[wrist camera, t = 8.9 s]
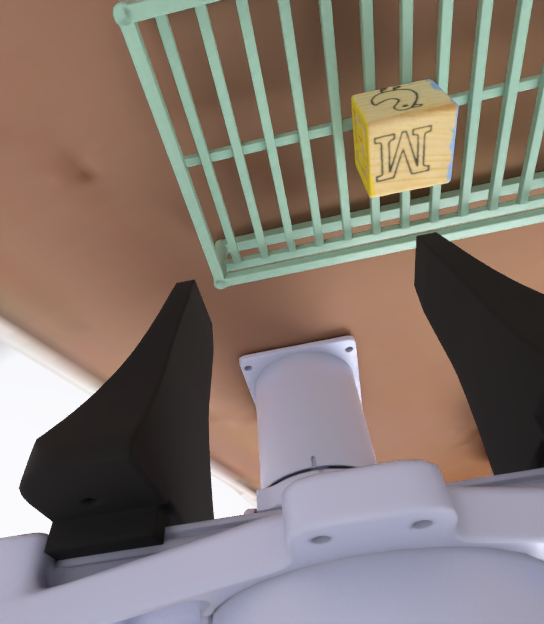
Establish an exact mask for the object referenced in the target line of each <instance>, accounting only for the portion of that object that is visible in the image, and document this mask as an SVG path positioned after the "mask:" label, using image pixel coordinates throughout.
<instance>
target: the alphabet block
mask: <svg viewBox="0 0 544 624" xmlns="http://www.w3.org/2000/svg"><path fill="white" fill-rule="evenodd" d="M458 108H459V106H458V104H457V103H456V102H455V101H454V100H453V99H452V98H451V97H450V96H448V95H447V94H446V93H445V92H444V91H443V90H442V89H441V88H440V87H439V86H438V85H437V84H436V83H435V82H434V81H433V80H431V79H426V80H421V81H416V82H411V83H407V84H402V85H398V86H393V87H387V88H384V89H379V90H375V91H370V92H365V93H361V94H356V95H353V96H352V97H351V109H352V123H353V138H354V152H355V165H356V168H357V170H358V172H359V175H360V177H361V179H362V182H363V184H364V186H365V189H366V191H367V193H368V196H369V197H370V198H375V197H380V196H385V195H389V194H394V193H399V192H404V191H409V190H414V189H419V188H425V187H430V186H435V185H440V184H446V183H448V182H450V179H451V173H452V164H453V155H454V146H455V144H454V143H455V136H456V124H457V116H458Z"/></svg>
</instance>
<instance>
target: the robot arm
mask: <svg viewBox="0 0 544 624" xmlns="http://www.w3.org/2000/svg"><path fill="white" fill-rule="evenodd" d="M414 286H415V289H416V292H417V295H418V297H419V300H420V303H421V305H422V308H423V311H424V313H425V315H426V317H427V319H428V320H429V322H430V324H431V326H432V328H433V330H434V332H435V334H436V335H437V337H438V339H439V341H440V343H441V345H442V346H443V348H444V350H445V352H446V354H447V356H448V358H449V359H450V361H451V363H452V365H453V367H454V369H455V371H456V373H457V375H458V378H459V380H460V383H461V385H462V388H463V390H464V393H465V395H466V398H467V400H468V403H469V406H470V408H471V411H472V414H473V416H474V419H475V422H476V424H477V427H478V430H479V433H480V436H481V439H482V441H483V444H484V447H485V450H486V453H487V456H488V459H489V462H490V465H491V468H492V471H493V474H494V476H488V477H481V478H475V479H469V480H462V481H456V482H449V483H445V482H444V479H443V476H442V474H441V472H440V469H439V467H438V466H437V465H435V464H432V463H430V462H427V461H424V460H421V459H413V460H398V461H392V462H386V463H379V464H377V461H376V457H375V453H374V450H373V446H372V442H371V439H370V435H369V431H368V427H367V424H366V420H365V416H364V413H363V409H362V399H361V389H360V380H359V370H358V360H357V350H356V342H355V339H354V337H353V336H342V337H337V338H332V339H327V340H322V341H316V342H311V343H306V344H301V345H295V346H290V347H285V348H280V349H274V350H269V351H264V352H259V353H254V354H248V355H244V356H242V357H240V359H239V364H240V367H241V370H242V372H243V375H244V377H245V380H246V383H247V385H248V388H249V390H250V393H251V396H252V398H253V401H254V403H255V406H256V409H257V426H258V444H259V461H260V478H261V489H258V490H257V491H256V492H257V509H247V510H246V511H245V513H244V515H239V516H234V517H226V518H221V519H214V514H213V502H212V488H211V472H210V451H209V400H210V388H211V377H212V364H213V330H212V322H211V320H210V317H209V315H208V312H207V310H206V307H205V304H204V302H203V299H202V297H201V294H200V292H199V289H198V287H197V284H196V282H195V280H190V281H185V282H180V283H176V285H175V286H174V288H173V290H172V291H171V293H170V295H169V297H168V298H167V300H166V302H165V304H164V305H163V307H162V309H161V310H160V312H159V314H158V315H157V317H156V319H155V320H154V322H153V323H152V325H151V327H150V328H149V330H148V331H147V333H146V334H145V335H144V337H143V338H142V340H141V341H140V343H139V344H138V345H137V347H136V348H135V350H134V351H133V352H132V353H131V355H130V356H129V357H128V358H127V360H126V361H125V362H124V363H123V364H122V365H121V367H120V368H119V369H118V370H117V371H116V372H115V373H114V374H113V375H112V376H111V377H110V378H109V379H108V380H107V381H106V382H105V383H104V384H103V385H102V387H101V388H100V389H99V390H98V391H97V392H96V393H94V394H93V395H92V396H91V397H90V398H89V399H88V400H87V401H86V402H84V403H83V404H82V405H81V406H80V407H79V408H77V409H76V410H75V411H74V412H73V413H71V414H70V415H69V416H68V417H66V418H65V419H64V420H63V421H61V422H60V423H58V424H57V425H56V426H54V427H53V428H52V429H50V430H49V431H48V432H46V433H45V434H44V435H42V436H41V437H39V438H38V439H37V440H36V442H35V444H34V447H33V449H32V452H31V454H30V457H29V460H28V463H27V466H26V468H25V471H24V474H23V477H22V480H21V483H20V487H19V489H20V492H21V495H22V496H23V498H24V499H26V501H27V502H28V503H29V504H31V505H32V506H33V507H35V508H36V509H37V510H38V511H40V512H41V513H42V514H43V515H45V516H46V517H47V518H49V519H50V520H51V521H52V522H53V523H52V526H51V530H50V533H49V535H48V534H44V533H31V534H24V535H17V536H12V537H5V538H0V624H544V294H542V293H540V292H537V291H535V290H533V289H531V288H529V287H526V286H524V285H522V284H520V283H518V282H516V281H514V280H512V279H510V278H508V277H506V276H505V275H503V274H501V273H499V272H497V271H496V270H494V269H492V268H490V267H489V266H487V265H485V264H484V263H482V262H481V261H479V260H477V259H476V258H474V257H473V256H471V255H470V254H468V253H467V252H465V251H464V250H462V249H461V248H459V247H458V246H456V245H455V244H453V243H452V242H450V241H449V240H447V239H446V238H444V237H443V236H441V235H440V234H438V233H437V232H433V233H428V234H423V235H418V236H416V257H415V281H414ZM347 347H349V348H347Z"/></svg>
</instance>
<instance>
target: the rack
mask: <svg viewBox="0 0 544 624" xmlns="http://www.w3.org/2000/svg"><path fill="white" fill-rule="evenodd" d="M216 1H220V0H120V1H119V2H118V3H117V4H116V5H115V6H114V8H113V18H114V20H115V22H116V23H117V24H118V25H119V26H120V28H121V31H122V34H123V36H124V39H125V42H126V44H127V47H128V50H129V53H130V55H131V58H132V61H133V63H134V66H135V69H136V71H137V74H138V77H139V79H140V82H141V85H142V87H143V90H144V93H145V96H146V98H147V101H148V104H149V106H150V109H151V112H152V114H153V117H154V120H155V122H156V125H157V128H158V130H159V133H160V136H161V139H162V141H163V144H164V147H165V149H166V152H167V155H168V157H169V160H170V163H171V165H172V168H173V171H174V174H175V176H176V179H177V182H178V184H179V187H180V190H181V192H182V195H183V198H184V200H185V203H186V206H187V208H188V211H189V214H190V217H191V219H192V222H193V225H194V227H195V230H196V233H197V235H198V238H199V241H200V243H201V246H202V249H203V251H204V254H205V257H206V260H207V262H208V265H209V268H210V270H211V273H212V276H213V278H214V286H215V287H216V288H217V289H224V288H226V287H227V286H232V285H237V284H242V283H247V282H252V281H257V280H262V279H267V278H272V277H276V276H281V275H286V274H291V273H296V272H301V271H306V270H311V269H316V268H320V267H325V266H330V265H335V264H340V263H345V262H350V261H355V260H360V259H364V258H369V257H374V256H379V255H384V254H389V253H394V252H399V251H404V250H408V249H413V248H416V236H418V235H423V234H428V233H433V232H437V233H438V234H440V235H441V236H443V237H444V238H446V239H447V240H449V241H452V240H457V239H462V238H467V237H472V236H477V235H482V234H487V233H492V232H496V231H501V230H506V229H511V228H516V227H521V226H526V225H531V224H536V223H541V222H544V208H539V209H534V210H530V211H525V212H520V213H515V214H510V215H505V216H501V217H496V218H491V219H486V220H481V221H476V222H472V223H467V224H462V225H457V226H452V227H447V226H451V225H456V224H461V223H466V222H471V221H475V220H480V219H485V218H490V217H495V216H500V215H504V214H509V213H514V212H519V211H524V210H529V209H533V208H538V207H543V206H544V194H540V195H535V196H530V197H529V195H530V190H532V189H537V188H542V187H544V171H542V172H537V173H534V172H535V167H536V163H537V158H538V154H539V149H540V144H541V140H542V135H543V131H544V62H543V67H542V72H541V74H538V75H534V76H529V77H525V78H521V79H520V74H521V69H522V63H523V57H524V51H525V45H526V39H527V33H528V27H529V21H530V15H531V9H532V4H533V0H517V6H516V12H515V19H514V26H513V32H512V39H511V46H510V52H509V59H508V66H507V73H506V79H505V82H503V83H499V84H494V85H490V86H486V87H483V85H484V77H485V68H486V60H487V51H488V43H489V34H490V26H491V18H492V9H493V1H494V0H478V9H477V20H476V30H475V40H474V50H473V60H472V70H471V80H470V90H468V91H464V92H460V93H455V94H451V95H448V96H450V97H451V98H452V99H453V100H454V101H455V102H456V103H457V104H458V106H459V105H464V104H468V110H467V120H466V130H465V140H464V150H463V160H462V170H461V181H460V189H458V190H453V191H448V192H444V193H441V184H440V185H435V186H430V195H429V196H425V197H420V198H415V199H411V200H410V190H409V191H404V192H400V202H397V203H392V204H387V205H383V206H380V197H375V198H370V197H369V198H370V208H369V209H364V210H359V211H354V212H350V205H349V194H348V183H347V172H346V160H345V149H344V138H343V132H345V131H350V130H353V123H352V117H351V118H347V119H342V115H341V104H340V93H339V82H338V70H337V59H336V48H335V37H334V25H333V14H332V3H331V0H318V3H319V12H320V22H321V31H322V41H323V50H324V60H325V69H326V79H327V88H328V98H329V107H330V117H331V122H329V123H325V124H321V125H316V126H312V127H308V126H307V119H306V112H305V105H304V98H303V91H302V84H301V77H300V70H299V63H298V56H297V49H296V42H295V35H294V28H293V21H292V14H291V7H290V0H277V3H278V10H279V16H280V22H281V29H282V35H283V41H284V48H285V54H286V60H287V67H288V73H289V79H290V85H291V92H292V98H293V104H294V111H295V117H296V123H297V130H295V131H290V132H286V133H282V134H277V135H274V134H273V129H272V123H271V118H270V113H269V108H268V103H267V98H266V93H265V88H264V83H263V78H262V73H261V67H260V62H259V57H258V52H257V47H256V42H255V37H254V32H253V27H252V22H251V17H250V11H249V6H248V1H247V0H235V2H236V7H237V11H238V16H239V21H240V25H241V30H242V35H243V40H244V44H245V49H246V54H247V59H248V63H249V68H250V73H251V77H252V82H253V87H254V92H255V96H256V101H257V106H258V110H259V115H260V120H261V125H262V129H263V134H264V138H260V139H256V140H251V141H247V142H243V143H241V141H240V137H239V133H238V129H237V125H236V121H235V117H234V113H233V109H232V105H231V101H230V97H229V93H228V89H227V85H226V81H225V77H224V73H223V69H222V65H221V61H220V57H219V53H218V49H217V45H216V41H215V37H214V33H213V29H212V25H211V21H210V17H209V13H208V9H207V5H206V4H209V3H213V2H216ZM453 2H454V0H439V12H438V32H437V52H436V73H435V83H436V84H437V85H438V86H439V87H440V88H441V89H442V90H443V91H444V92H445V93H446V94H447V91H448V76H449V61H450V47H451V32H452V17H453ZM193 7H194V9H195V12H196V16H197V20H198V24H199V27H200V31H201V35H202V39H203V42H204V46H205V50H206V54H207V57H208V61H209V65H210V69H211V72H212V76H213V80H214V84H215V87H216V91H217V95H218V99H219V102H220V106H221V110H222V114H223V117H224V121H225V125H226V128H227V132H228V136H229V140H230V143H231V145H230V146H225V147H221V148H217V149H212V150H208V147H207V144H206V141H205V137H204V134H203V131H202V127H201V124H200V121H199V118H198V114H197V111H196V108H195V104H194V101H193V98H192V95H191V91H190V88H189V85H188V82H187V78H186V75H185V72H184V68H183V65H182V62H181V59H180V55H179V52H178V49H177V45H176V42H175V39H174V36H173V32H172V29H171V26H170V22H169V19H168V16H167V14H170V13H174V12H178V11H182V10H185V9H189V8H193ZM359 11H360V29H361V48H362V67H363V85H364V93H365V92H370V91H375V90H376V82H375V55H374V27H373V0H359ZM150 18H155V21H156V24H157V27H158V30H159V33H160V36H161V39H162V42H163V46H164V49H165V52H166V55H167V58H168V61H169V64H170V67H171V70H172V73H173V77H174V80H175V83H176V86H177V89H178V92H179V95H180V98H181V101H182V104H183V108H184V111H185V114H186V117H187V120H188V123H189V126H190V129H191V132H192V135H193V139H194V142H195V145H196V148H197V151H198V153H195V154H191V155H186V156H183V153H182V150H181V148H180V145H179V142H178V139H177V136H176V133H175V130H174V127H173V125H172V122H171V119H170V116H169V113H168V110H167V107H166V104H165V102H164V99H163V96H162V93H161V90H160V87H159V84H158V81H157V79H156V76H155V73H154V70H153V67H152V64H151V61H150V58H149V55H148V53H147V50H146V47H145V44H144V41H143V38H142V35H141V32H140V30H139V27H138V24H137V22H139V21H143V20H147V19H150ZM412 51H413V0H399V85H402V84H407V83H411V82H412ZM534 88H538V92H537V97H536V102H535V107H534V112H533V117H532V122H531V127H530V133H529V138H528V143H527V148H526V153H525V158H524V163H523V168H522V173H521V176H519V177H514V178H509V179H505V180H503V175H504V169H505V163H506V157H507V151H508V145H509V139H510V134H511V128H512V122H513V116H514V110H515V104H516V98H517V92H521V91H525V90H529V89H534ZM499 96H503V99H502V106H501V113H500V120H499V126H498V133H497V140H496V146H495V153H494V160H493V166H492V173H491V180H490V183H486V184H481V185H476V186H472V178H473V169H474V161H475V152H476V144H477V136H478V127H479V119H480V110H481V102H482V100H486V99H490V98H494V97H499ZM328 135H332V136H333V145H334V154H335V164H336V173H337V183H338V192H339V202H340V211H341V214H340V215H336V216H331V217H326V218H322V219H321V218H320V211H319V204H318V197H317V190H316V183H315V176H314V169H313V162H312V155H311V148H310V141H309V140H310V139H315V138H319V137H323V136H328ZM297 142H300V149H301V155H302V161H303V168H304V174H305V180H306V186H307V193H308V199H309V205H310V212H311V218H312V221H308V222H303V223H298V224H294V225H291V220H290V215H289V210H288V205H287V200H286V195H285V190H284V185H283V179H282V174H281V169H280V164H279V159H278V154H277V149H276V147H280V146H284V145H288V144H293V143H297ZM266 149H267V153H268V158H269V162H270V167H271V172H272V176H273V181H274V186H275V191H276V195H277V200H278V205H279V210H280V214H281V219H282V224H283V227H279V228H275V229H270V230H265V231H263V229H262V225H261V221H260V217H259V213H258V209H257V205H256V201H255V197H254V193H253V189H252V185H251V181H250V177H249V173H248V169H247V165H246V161H245V157H244V154H249V153H253V152H258V151H262V150H266ZM231 157H234V158H235V162H236V166H237V170H238V173H239V177H240V181H241V185H242V188H243V192H244V196H245V200H246V203H247V207H248V211H249V215H250V218H251V222H252V226H253V230H254V233H251V234H247V235H242V236H237V237H235V236H234V233H233V229H232V226H231V223H230V219H229V216H228V213H227V210H226V206H225V203H224V200H223V196H222V193H221V190H220V187H219V183H218V180H217V177H216V173H215V170H214V167H213V164H212V162H214V161H218V160H223V159H227V158H231ZM201 164H202V167H203V170H204V173H205V176H206V179H207V182H208V185H209V188H210V191H211V194H212V198H213V201H214V204H215V207H216V210H217V213H218V216H219V219H220V222H221V225H222V229H223V232H224V235H225V238H226V239H223V240H222V239H220V240H218V241H216V243H215V245H214V243H213V240H212V237H211V234H210V231H209V228H208V225H207V222H206V220H205V217H204V214H203V211H202V208H201V205H200V202H199V199H198V197H197V194H196V191H195V188H194V185H193V182H192V179H191V176H190V174H189V171H188V168H187V167H192V166H196V165H201ZM471 186H472V187H471ZM513 193H517V198H516V200H511V201H506V202H501V203H499V198H500V196H504V195H508V194H513ZM485 199H488V200H487V206H482V207H478V208H473V209H469V203H470V202H475V201H480V200H485ZM456 205H458V211H457V212H454V213H449V214H444V215H439V209H442V208H447V207H451V206H456ZM428 211H429V216H428V218H425V219H420V220H415V221H411V222H410V215H413V214H418V213H423V212H428ZM399 217H400V224H396V225H392V226H387V227H382V228H381V221H385V220H390V219H394V218H399ZM366 224H371V230H368V231H363V232H358V233H353V234H352V227H356V226H361V225H366ZM442 227H447V228H443V229H438V230H433V231H428V232H423V233H418V232H422V231H427V230H432V229H437V228H442ZM337 230H343V236H339V237H334V238H330V239H325V240H324V239H323V233H328V232H333V231H337ZM413 233H418V234H414V235H409V236H404V237H399V238H394V239H389V238H393V237H398V236H403V235H408V234H413ZM309 236H314V237H315V242H310V243H306V244H301V245H296V246H295V241H294V240H295V239H299V238H304V237H309ZM384 239H389V240H385V241H380V242H375V243H370V244H365V245H360V244H364V243H369V242H374V241H379V240H384ZM285 241H286V243H287V248H282V249H277V250H272V251H268V249H267V245H271V244H276V243H280V242H285ZM355 245H360V246H356V247H351V248H346V249H341V250H336V251H331V250H335V249H340V248H345V247H350V246H355ZM257 247H258V248H259V252H260V253H258V254H253V255H248V256H244V257H241V256H240V252H239V251H242V250H247V249H252V248H257ZM326 251H331V252H327V253H322V254H317V255H312V256H307V255H311V254H316V253H321V252H326ZM228 253H231V257H232V259H229V260H228ZM302 256H307V257H302ZM297 257H302V258H298V259H293V260H288V261H283V262H278V261H282V260H287V259H292V258H297ZM273 262H278V263H273ZM268 263H273V264H269V265H264V266H259V267H254V268H249V267H253V266H258V265H263V264H268ZM244 268H249V269H244ZM239 269H244V270H240V271H235V272H230V273H228V272H229V271H234V270H239Z"/></svg>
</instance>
